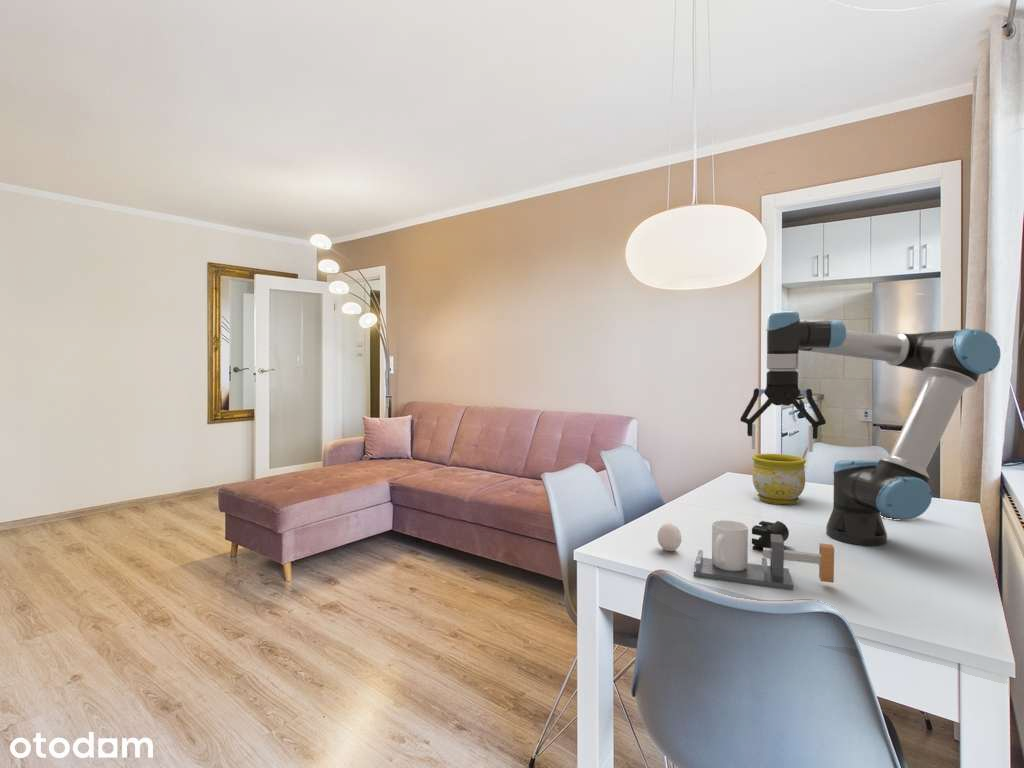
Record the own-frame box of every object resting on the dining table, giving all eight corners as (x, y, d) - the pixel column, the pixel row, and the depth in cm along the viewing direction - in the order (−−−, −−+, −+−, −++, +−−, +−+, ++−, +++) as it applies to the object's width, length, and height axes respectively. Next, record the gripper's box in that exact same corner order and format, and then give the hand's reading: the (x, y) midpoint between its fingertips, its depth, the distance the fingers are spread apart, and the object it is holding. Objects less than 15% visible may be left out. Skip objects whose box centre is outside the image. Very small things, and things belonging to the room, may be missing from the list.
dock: (788, 573, 131) (789, 533, 131) (792, 590, 122) (793, 546, 121) (696, 561, 140) (696, 523, 139) (693, 576, 130) (694, 535, 129)
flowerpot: (815, 507, 192) (816, 461, 191) (765, 507, 192) (765, 461, 191) (789, 494, 210) (790, 453, 209) (744, 494, 210) (744, 453, 209)
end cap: (778, 555, 144) (778, 531, 143) (751, 549, 148) (751, 525, 148) (789, 546, 151) (789, 522, 151) (762, 540, 156) (762, 518, 156)
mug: (732, 579, 125) (732, 535, 124) (698, 569, 131) (699, 528, 130) (753, 565, 133) (753, 525, 133) (720, 557, 139) (721, 518, 139)
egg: (686, 551, 147) (686, 523, 147) (671, 556, 143) (671, 527, 143) (667, 545, 152) (667, 517, 152) (652, 549, 148) (652, 521, 148)
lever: (831, 578, 124) (832, 544, 124) (833, 582, 122) (834, 548, 122) (762, 569, 130) (763, 537, 130) (763, 573, 127) (763, 540, 127)
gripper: (833, 370, 140) (832, 450, 141) (731, 370, 150) (730, 445, 151) (839, 370, 133) (837, 454, 134) (731, 370, 143) (730, 449, 144)
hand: (781, 449), depth 142 cm, fingers open, 13 cm apart
